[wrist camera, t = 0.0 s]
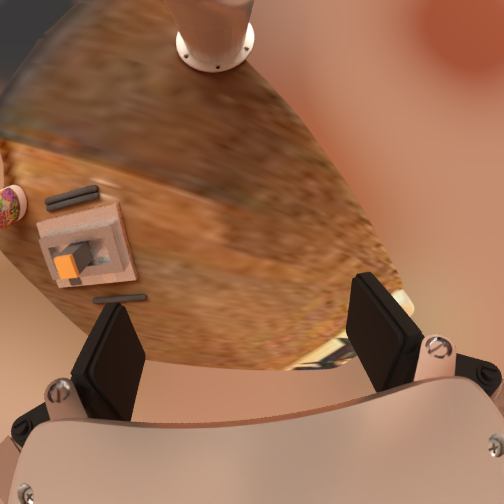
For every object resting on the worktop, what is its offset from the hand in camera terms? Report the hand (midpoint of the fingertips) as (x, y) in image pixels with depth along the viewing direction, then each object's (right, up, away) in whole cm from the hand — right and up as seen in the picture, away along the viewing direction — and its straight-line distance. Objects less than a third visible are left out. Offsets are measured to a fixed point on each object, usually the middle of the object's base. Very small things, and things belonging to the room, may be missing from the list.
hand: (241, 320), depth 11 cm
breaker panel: (-32, +4, +36) cm, 48 cm away
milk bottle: (-49, +13, +30) cm, 59 cm away
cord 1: (-33, +13, +31) cm, 47 cm away
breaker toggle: (-32, +3, +34) cm, 47 cm away
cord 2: (-27, -7, +41) cm, 50 cm away
